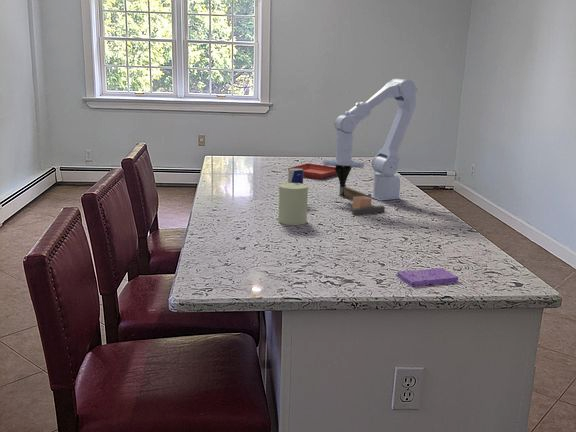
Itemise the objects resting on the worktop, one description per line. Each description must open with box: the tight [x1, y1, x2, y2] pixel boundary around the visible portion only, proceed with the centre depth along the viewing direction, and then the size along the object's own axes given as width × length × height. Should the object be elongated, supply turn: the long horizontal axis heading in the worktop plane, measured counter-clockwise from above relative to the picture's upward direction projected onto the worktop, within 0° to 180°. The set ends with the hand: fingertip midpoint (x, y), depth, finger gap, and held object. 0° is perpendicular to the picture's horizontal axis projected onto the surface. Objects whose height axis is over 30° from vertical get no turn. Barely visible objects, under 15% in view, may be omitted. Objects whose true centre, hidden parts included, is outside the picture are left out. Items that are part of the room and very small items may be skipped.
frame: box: [338, 184, 373, 202], centre depth 222 cm, size 4×19×4 cm, turn 27°
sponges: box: [396, 267, 459, 287], centre depth 144 cm, size 7×13×2 cm, turn 108°
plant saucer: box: [287, 162, 337, 180], centre depth 269 cm, size 18×18×3 cm
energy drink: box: [287, 167, 304, 184], centre depth 216 cm, size 5×5×12 cm
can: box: [277, 182, 309, 226], centre depth 190 cm, size 9×9×12 cm
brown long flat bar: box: [344, 186, 366, 199], centre depth 222 cm, size 1×13×3 cm, turn 27°
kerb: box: [352, 205, 386, 216], centre depth 204 cm, size 12×2×2 cm, turn 117°
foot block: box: [351, 196, 372, 210], centre depth 208 cm, size 4×4×4 cm
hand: (342, 186), depth 220 cm, fingers closed
